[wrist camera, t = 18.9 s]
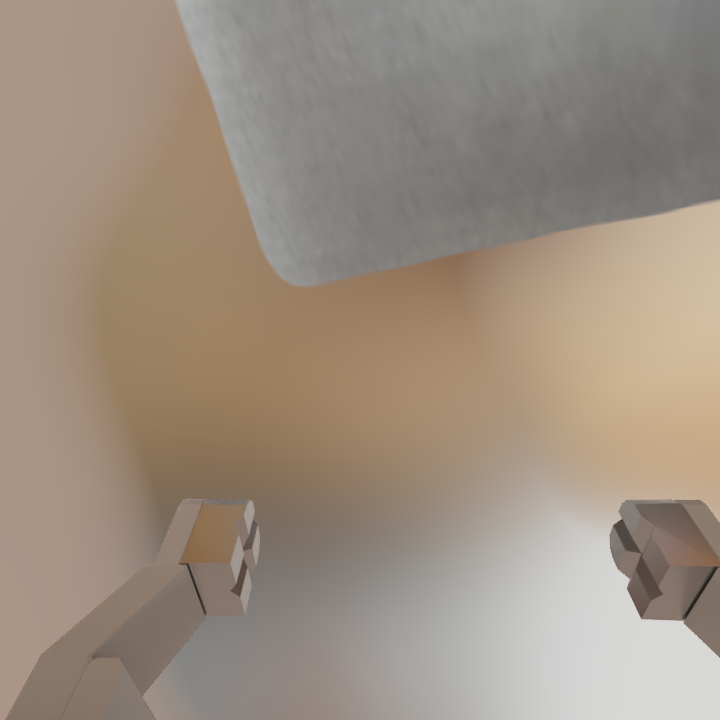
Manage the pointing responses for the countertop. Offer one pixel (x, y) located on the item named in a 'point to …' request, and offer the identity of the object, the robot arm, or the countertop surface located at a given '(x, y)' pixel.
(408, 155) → the countertop surface
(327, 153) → the countertop surface
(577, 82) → the countertop surface
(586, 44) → the countertop surface
